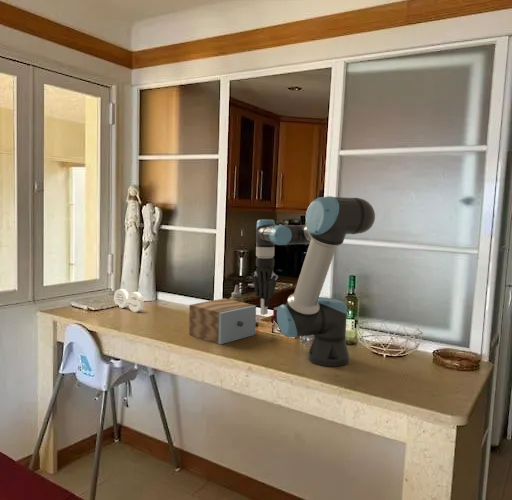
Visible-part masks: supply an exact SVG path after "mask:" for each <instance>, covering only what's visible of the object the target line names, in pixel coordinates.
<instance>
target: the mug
mask: <svg viewBox="0 0 512 500" xmlns="http://www.w3.org/2000/svg"><path fill="white" fill-rule="evenodd" d="M278 307H279V306H275V307H274V308H273V310H272V313H273V315H272V317H271V319H270V323H271V322H272V323H274V321H275V322H276V323H277V324H278V322H277V309H278Z"/></svg>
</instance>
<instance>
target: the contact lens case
mask: <svg viewBox="0 0 512 500" xmlns="http://www.w3.org/2000/svg"><path fill="white" fill-rule="evenodd" d="M113 301H114V303H115V305H116V304H118V305H119V307H121V308H120V309H124V308H127V307H128V308H129V310H130V311H131V312H134V313H137V312H140V311H142V309H143V308H144V304H145V303H144V302H145V301H144V297H143V295H142V294H141V293H140V292H139V291H134V292H133V291H132V292H130V293H129V291H127V290H126V289H125V288H119V289H116V290H115V291H114V293H113Z"/></svg>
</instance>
